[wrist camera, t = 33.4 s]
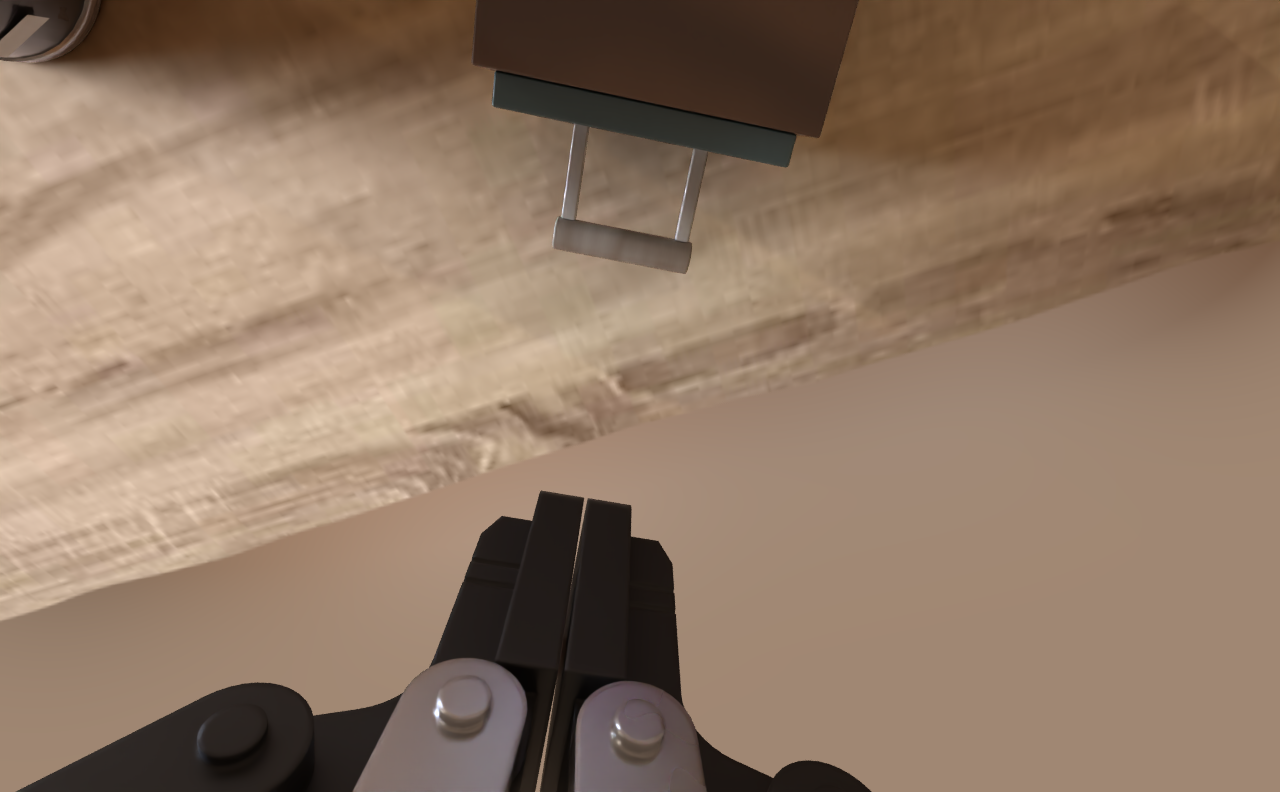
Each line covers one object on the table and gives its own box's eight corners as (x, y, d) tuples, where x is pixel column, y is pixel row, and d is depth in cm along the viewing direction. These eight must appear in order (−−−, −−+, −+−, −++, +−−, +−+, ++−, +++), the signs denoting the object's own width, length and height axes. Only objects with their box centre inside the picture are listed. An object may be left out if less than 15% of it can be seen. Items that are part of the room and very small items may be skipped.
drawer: (729, 264, 33) (751, 304, 26) (512, 222, 32) (477, 251, 25) (842, -190, 26) (914, -298, 19) (565, -260, 25) (536, -399, 18)
